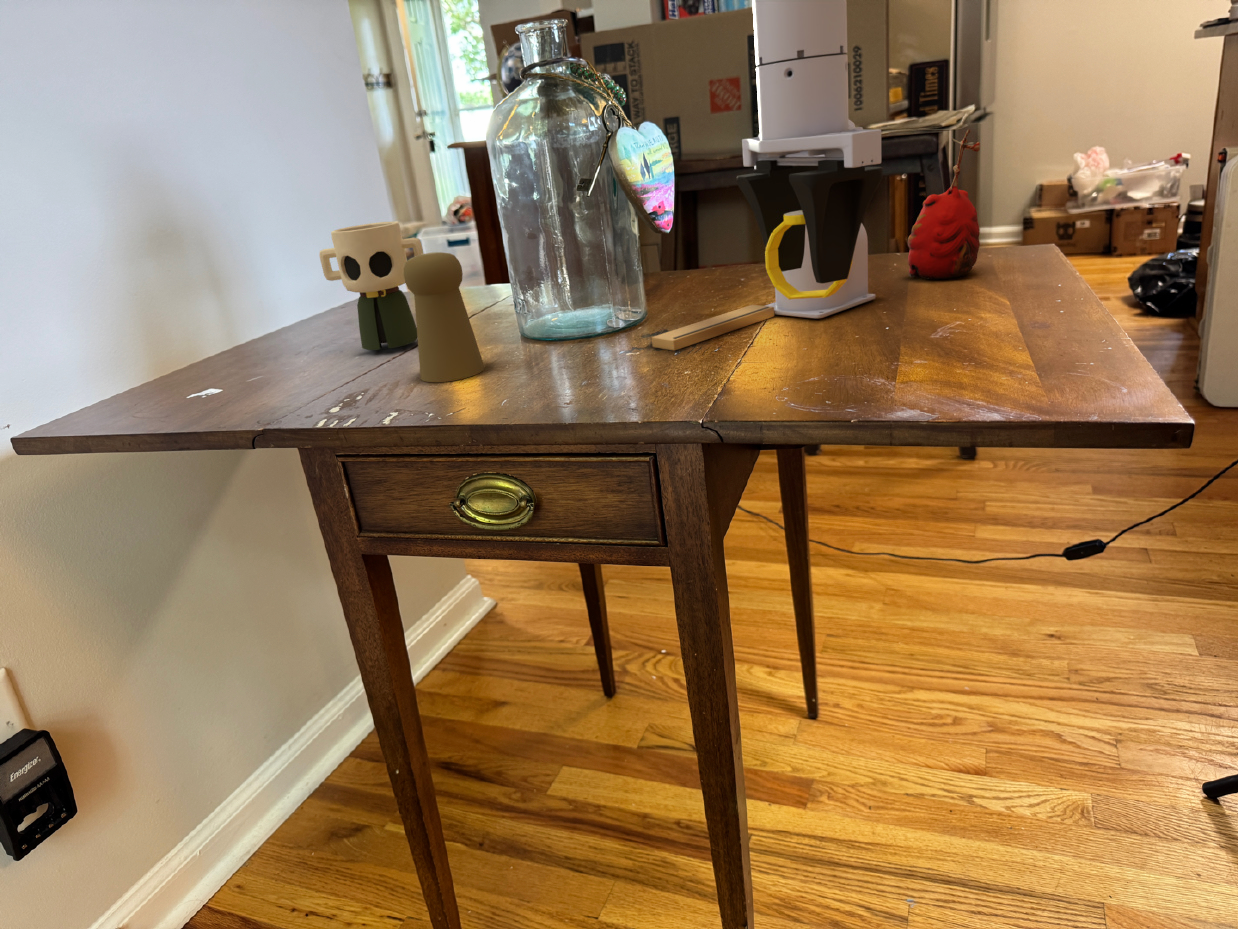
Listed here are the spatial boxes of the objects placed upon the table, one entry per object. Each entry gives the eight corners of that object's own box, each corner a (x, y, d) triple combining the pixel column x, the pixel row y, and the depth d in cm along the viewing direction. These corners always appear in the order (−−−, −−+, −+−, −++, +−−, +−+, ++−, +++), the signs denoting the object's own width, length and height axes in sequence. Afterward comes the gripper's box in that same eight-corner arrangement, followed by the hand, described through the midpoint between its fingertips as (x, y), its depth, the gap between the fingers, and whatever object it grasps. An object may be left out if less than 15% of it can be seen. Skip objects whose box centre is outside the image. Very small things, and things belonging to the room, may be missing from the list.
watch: (858, 294, 59) (856, 205, 57) (841, 303, 57) (839, 212, 55) (780, 292, 62) (776, 209, 60) (762, 301, 60) (757, 215, 58)
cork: (471, 380, 76) (447, 256, 72) (409, 384, 77) (383, 262, 73) (493, 361, 81) (472, 245, 77) (435, 365, 83) (412, 251, 79)
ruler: (752, 314, 87) (751, 303, 87) (774, 316, 85) (774, 305, 85) (652, 347, 79) (651, 336, 79) (674, 350, 77) (673, 339, 77)
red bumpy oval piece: (945, 266, 98) (949, 128, 92) (994, 272, 92) (1001, 124, 86) (894, 278, 95) (894, 136, 90) (941, 285, 89) (944, 133, 83)
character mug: (334, 361, 90) (302, 237, 85) (352, 345, 96) (323, 229, 92) (435, 349, 90) (409, 223, 85) (446, 334, 96) (423, 216, 91)
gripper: (927, 40, 48) (923, 278, 53) (800, 66, 61) (806, 255, 66) (818, 52, 47) (825, 297, 52) (711, 76, 60) (725, 270, 65)
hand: (808, 275), depth 59 cm, fingers closed on watch, 5 cm apart
